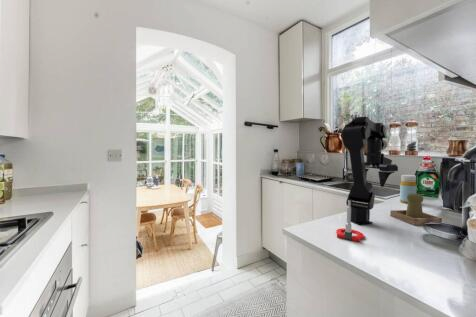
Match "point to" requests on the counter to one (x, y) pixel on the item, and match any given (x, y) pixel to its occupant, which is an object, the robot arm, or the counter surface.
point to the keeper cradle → (414, 221)
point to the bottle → (407, 187)
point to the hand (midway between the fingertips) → (372, 185)
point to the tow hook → (349, 228)
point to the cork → (414, 206)
